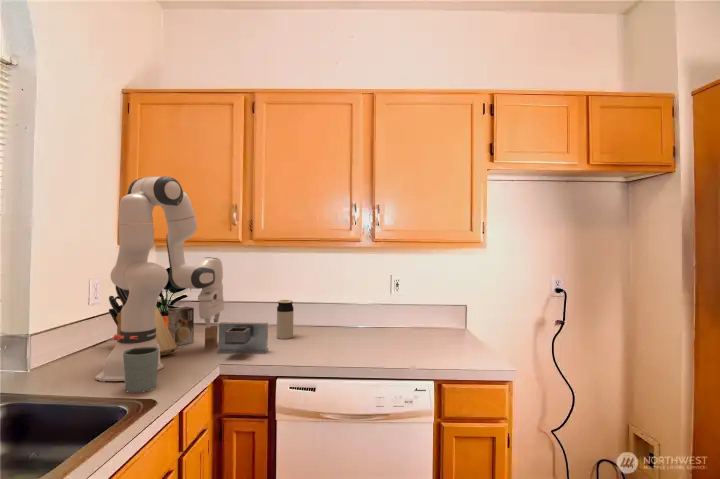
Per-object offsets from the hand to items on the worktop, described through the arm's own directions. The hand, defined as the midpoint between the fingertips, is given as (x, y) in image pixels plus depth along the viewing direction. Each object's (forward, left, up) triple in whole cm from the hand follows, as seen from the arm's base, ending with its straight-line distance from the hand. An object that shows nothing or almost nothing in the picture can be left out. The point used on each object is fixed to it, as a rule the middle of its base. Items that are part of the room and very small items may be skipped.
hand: (212, 324), depth 179 cm
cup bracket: (-11, -16, -10) cm, 22 cm away
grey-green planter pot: (-51, +4, -10) cm, 52 cm away
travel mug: (+19, -29, -10) cm, 36 cm away
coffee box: (+5, +16, -10) cm, 20 cm away
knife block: (-8, +27, -10) cm, 30 cm away
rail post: (-1, 0, -10) cm, 10 cm away
